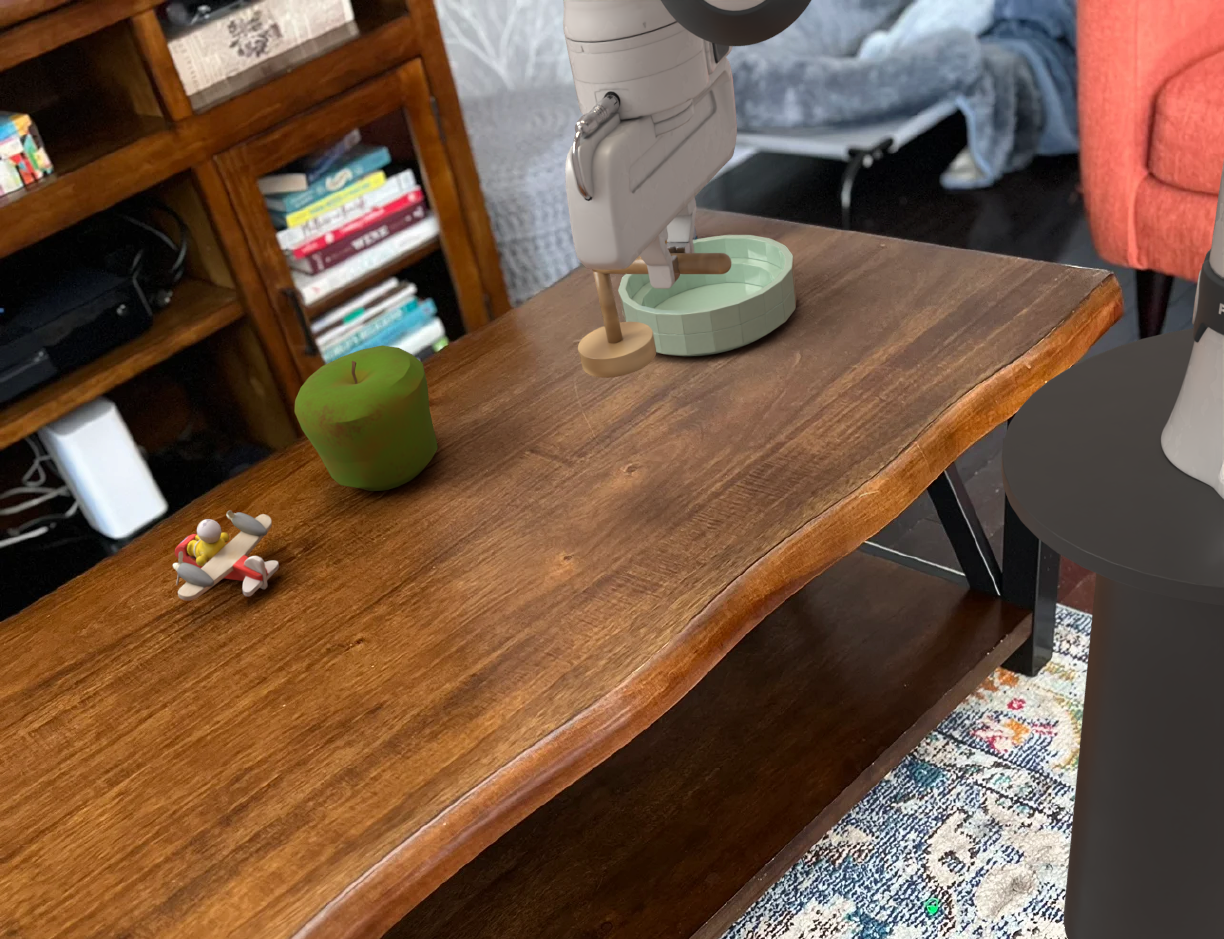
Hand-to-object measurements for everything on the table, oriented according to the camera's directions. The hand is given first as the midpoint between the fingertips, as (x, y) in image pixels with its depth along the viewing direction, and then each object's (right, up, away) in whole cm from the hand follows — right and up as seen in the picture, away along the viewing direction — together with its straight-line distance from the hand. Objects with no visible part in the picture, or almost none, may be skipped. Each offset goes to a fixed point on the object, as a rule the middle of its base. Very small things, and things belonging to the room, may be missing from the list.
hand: (674, 275), depth 93 cm
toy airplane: (-38, -19, +19) cm, 47 cm away
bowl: (+6, +12, +38) cm, 40 cm away
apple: (-26, -7, +29) cm, 39 cm away
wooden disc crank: (-1, -4, +6) cm, 7 cm away
